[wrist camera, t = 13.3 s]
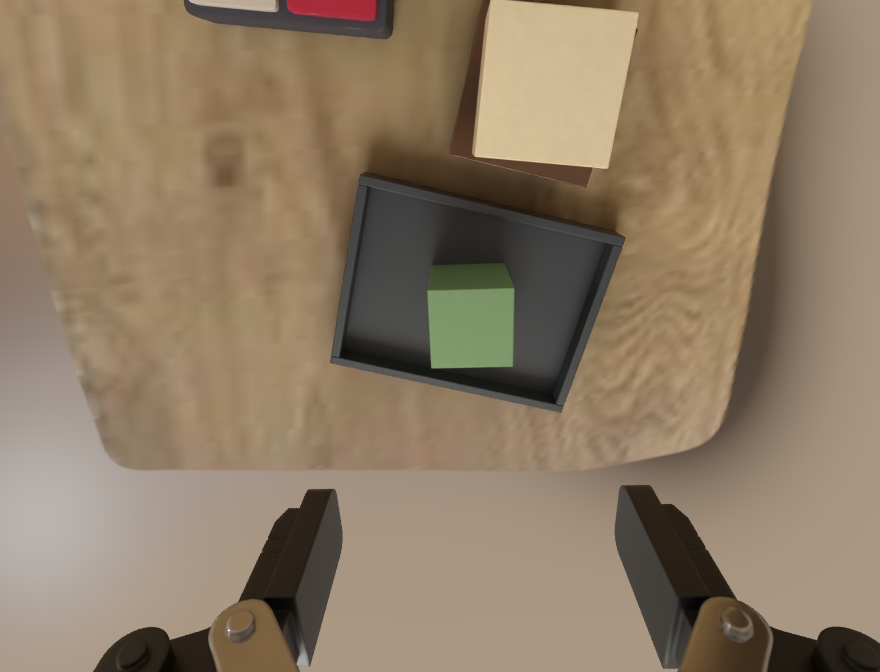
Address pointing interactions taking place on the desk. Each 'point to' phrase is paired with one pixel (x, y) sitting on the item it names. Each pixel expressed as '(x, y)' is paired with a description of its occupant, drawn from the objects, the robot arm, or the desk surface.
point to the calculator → (302, 15)
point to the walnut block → (467, 115)
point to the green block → (471, 316)
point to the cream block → (552, 82)
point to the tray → (469, 242)
